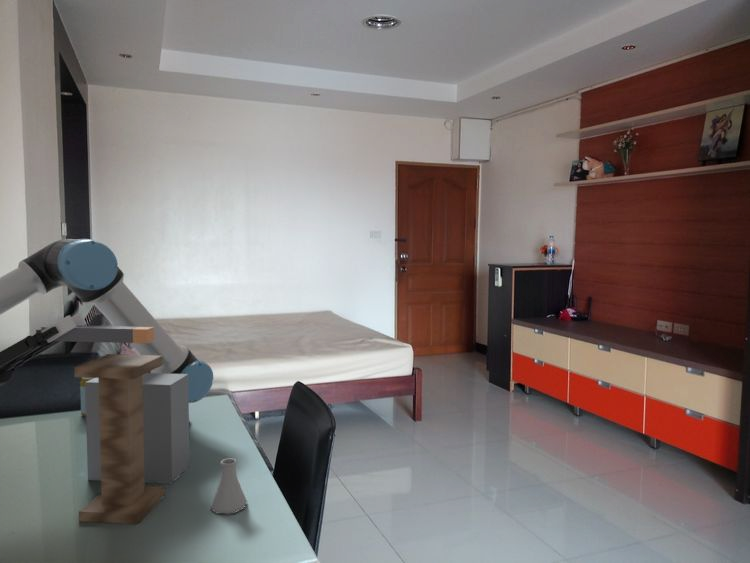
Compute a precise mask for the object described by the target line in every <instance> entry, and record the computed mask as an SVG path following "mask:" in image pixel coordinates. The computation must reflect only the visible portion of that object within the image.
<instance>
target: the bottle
mask: <svg viewBox="0 0 750 563" xmlns="http://www.w3.org/2000/svg"><path fill="white" fill-rule="evenodd" d="M91 379H94V378H85V377H81V380H80V386H79V389H80V415H81V416H83V417H84V418H86V397H85V382H87V381H89V380H91Z"/></svg>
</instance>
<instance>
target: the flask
mask: <svg viewBox="0 0 750 563" xmlns="http://www.w3.org/2000/svg"><path fill="white" fill-rule="evenodd" d="M237 462H238V460H237V459H235V458H232V457H231V458H230V457H228V458H224V459H222V460H221V461H220V465H221V474H220V475H221V476H220V481H219V483H218V486H217V489H216V492H215V494H214V498H213V500H212V503H211V506H210V509H212V510H214V511H215V512H214V511H213V512H214V513H216V512H218V513H234V512H236V511H238V510H241V509H242V508H244V506H245V504H246V502H247V503H248V501H247V498H246V495H245V494H244V491H243V489H242V486H241V484H240V482H239V479H238V475H237V471H236V470H237V469H236V464H237ZM246 505H247V504H246ZM245 507H246V506H245ZM244 509H245V508H244ZM212 510H211V511H212ZM241 511H242V510H241ZM218 513H217V514H218Z"/></svg>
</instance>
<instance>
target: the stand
mask: <svg viewBox="0 0 750 563" xmlns="http://www.w3.org/2000/svg"><path fill="white" fill-rule="evenodd" d="M161 365H162V356H157V355H141V354H121V353H118V354H117V353H113V354H111V353H108V354H105V355H103V356H99V357H97V358H94V359H92V360H89V361H87V362H84V363H81V364H79V365H76V366H74V368H73V369H74V378H82V377H85V378H98V382H99V420H100V458H101V481H100V486H101V488H100V489H101V493H99V494H98V495H97V496H96V497H94V498H93V499H92V500H90V501H89V502H88V503H87V504H86V505H84V506H83V507H82V508H81V509H80V510H78V521H79V522H87V523H88V522H89V523H90V522H91V523H111V524H112V523H113V524H131V525H132V524H134V525H139V524H140V523H141V521H142V520H143V519H144V518H145V517H146V516H147V515H148V514H149V513H150V512H151V511H152V510H151V509H152V508H153V507H154V506H155V507H156V506H157V504H159V503H160V502H161V500H162V499H163V498H164V497H165V496H166V492H165V490H166V489H165V488H166V487H165V486H154V485H153V486H149V485H148V486H147V485H145V482H144V437H143V387H142V375H144V374H146V373H147V372H149V371H151V370H153V369H155V368H157V367H159V366H161ZM164 495H165V496H164ZM163 496H164V497H163ZM162 497H163V498H162ZM161 498H162V499H161ZM155 507H154V508H155ZM154 508H153V509H154ZM150 510H151V511H150ZM149 511H150V512H149ZM148 512H149V513H148ZM146 514H147V515H146ZM145 515H146V516H145ZM144 516H145V517H144Z"/></svg>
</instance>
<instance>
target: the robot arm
mask: <svg viewBox="0 0 750 563" xmlns="http://www.w3.org/2000/svg"><path fill="white" fill-rule="evenodd" d="M124 275H125V273H124V272H123V271H122V269H120V267H119V266H118V259H117V257H116V255H115V252H114V251H112V249H111V248H109V247H108V246H107V245H106V244H104V243H102V242H100V241H97V240H94V239H89V238H78V239H76V238H75V239H74V238H73V239H72V238H65V239H64V238H63V239H59V240H57V241H53V242H52V243H50V244H48V245H46V246H44V247H43V248H42V249H39V250H38V251H36V252H34V253H33V254H31V255H29V256H28V257H26V258H23V259H22V260H21V261H19V262H18V266H17V268H15V269H13V270H11V271H9V272H7V273H5V274H3V275H2V276H0V316H1V315H3V314H4V313H6V312H8V311H10V310H12V309H13V308H15V307H16V306H19V305H20V304H22V303H24V302H25V301H26V300H29V299H30V298H33V297H34V296H35V295H37V294H41V295H45V294H47V293H49V292H51V291H53V290H55V289H57V288H59V287H65V286H66V287H67V288H68V289H69V290H70V291H71V292H72V293H73V294H74V296H76V297H77V298H78V299H79V300H80V301H81V302H82V303H83V304H91V305H92V304H93V305H94V306H95V307H96V308H97V309H98V310H99V312H100V313H102V315H103V316H104V317H105V318H106V319H107V320H108V321H109V323H111V325H112V326H125V327H154V341H152V342H150V343H129V344H130V345H131V346H132V347H133V348H134V349H135V350H136V352H138V354H139V355H157V356H162V365H161V366H159V367H157V368H155V369H153V370H151V371H149V372H147V373H166V374H188V392H189V404H193V403H194V404H195V403H196V402H200V401H201V400H203V399H204V398H205V397H206V396H207V395H208V393H209V392H210V391H211V388H212V386H213V384H214V383H213V381H214V372H213V370H212V367H211V366H210V364H208V363H206V362H205V361H202V360H199V359H198V358H197V357H196V356H195V354H193V352H192V351H191V350H190V349H189V348H188V347H187V346H186V345H183V344H181V345H179V344H177V343H176V341H175V340H174V339H173V338H172V337H171V335H169V333H168V332H167V331H166V330H165V329H164V328H163V327H162V326H161V324H160V323H159V322H158V321H157V320H156V318H154V316H153V315H152V314H151V313H150V312H149V311H148V310H149V309H147V308H146V307H145V306H144V305H143V304H142V302H141V301H140V300H139V299H138V297H136V295H135V294H134V293H133V291H131V289H129V288H128V286H127V285H126V284H125V283H124V277H125V276H124ZM50 325H51V326H49V327H47V328H46V329H44V330H42V331H41V332H42V333H40V332H39V333H36V332H35V334H33V335H26V337H24V338H22V339H20V340H18V341H17V342H15V343H13V344H12V345H9V347H7V348H4V349H3V350H1V351H0V387H1V386H3V385H5V384H6V383H9V382H10V381H11V380H12V379H13V377H14V374H15V369H16V368H19V367H21V366H23V365H24V364H25V363H26V362H28V361H30V360H31V359H35V358H37V357H38V356H39V355H40V354H42V353H43V352H46V351H47V350H48V349H50V348H52V347H54V346H55V345H57V344H59V343H60V342H61V341H53V340H55V339H57V338H58V337H60V336H62V335H64V334H65V333H67V332H69V331H71V330H72V329H74V328H76V327H77V326H76V325H79V326H87V322H86V320H85V319H84V317H83V315H82V313H81V312H78V313H76V314H74V315H73V316H71V314H69V315H66V316H65V317H63V318H61V319H60V320H58V321H56V322H54V323H53V324H50ZM46 340H47V341H46Z"/></svg>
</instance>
